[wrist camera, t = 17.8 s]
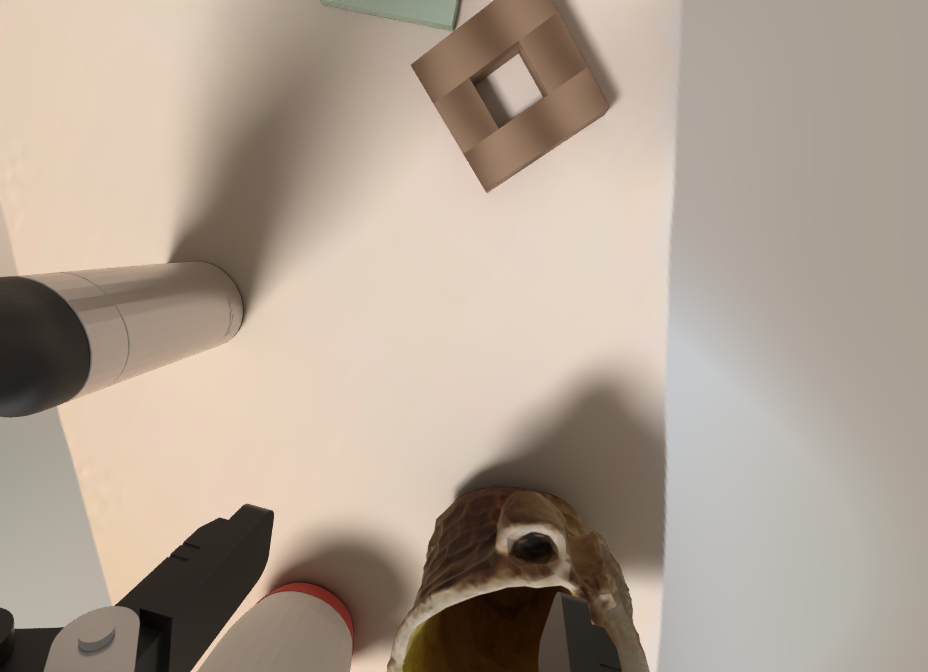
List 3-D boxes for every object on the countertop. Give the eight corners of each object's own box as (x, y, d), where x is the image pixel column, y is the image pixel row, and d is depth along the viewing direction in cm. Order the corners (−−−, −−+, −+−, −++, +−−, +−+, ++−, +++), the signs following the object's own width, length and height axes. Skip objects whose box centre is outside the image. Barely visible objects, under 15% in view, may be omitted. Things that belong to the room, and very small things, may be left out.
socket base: (486, 192, 41) (485, 190, 39) (417, 75, 39) (410, 65, 37) (603, 115, 38) (609, 107, 36) (534, -14, 37) (535, -32, 34)
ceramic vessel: (306, 490, 41) (426, 699, 20) (510, 408, 53) (724, 482, 32) (356, 690, 45) (501, 1042, 24) (535, 572, 57) (739, 736, 36)
